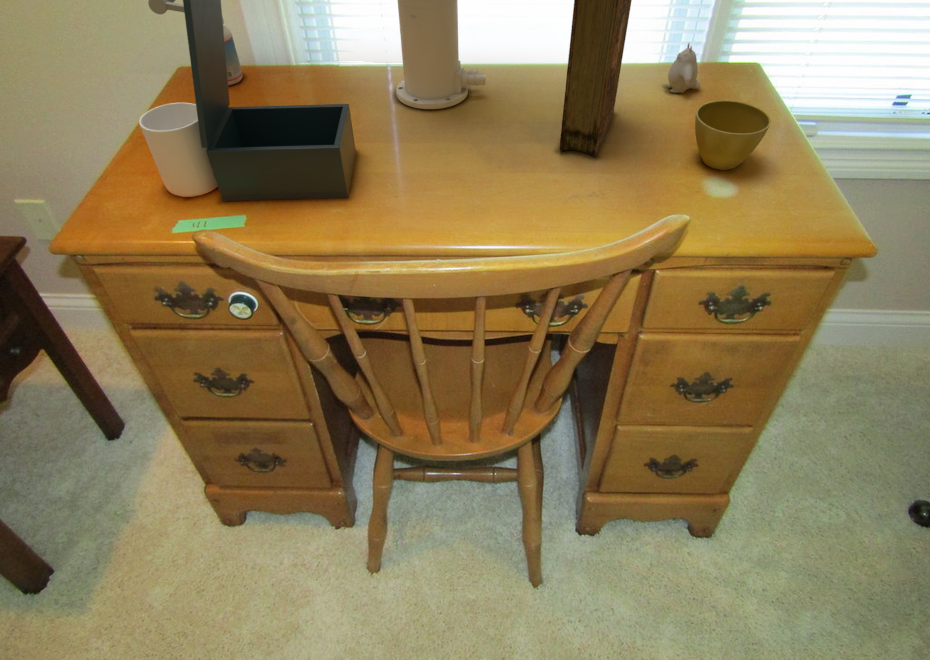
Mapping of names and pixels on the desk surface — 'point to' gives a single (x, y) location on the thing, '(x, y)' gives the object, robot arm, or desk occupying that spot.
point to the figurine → (684, 72)
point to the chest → (283, 152)
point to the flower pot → (728, 132)
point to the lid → (204, 60)
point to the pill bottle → (231, 58)
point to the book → (593, 72)
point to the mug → (178, 149)
